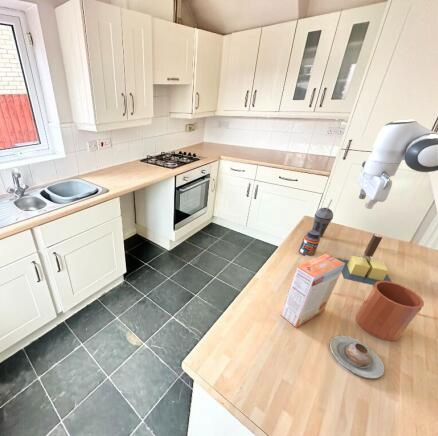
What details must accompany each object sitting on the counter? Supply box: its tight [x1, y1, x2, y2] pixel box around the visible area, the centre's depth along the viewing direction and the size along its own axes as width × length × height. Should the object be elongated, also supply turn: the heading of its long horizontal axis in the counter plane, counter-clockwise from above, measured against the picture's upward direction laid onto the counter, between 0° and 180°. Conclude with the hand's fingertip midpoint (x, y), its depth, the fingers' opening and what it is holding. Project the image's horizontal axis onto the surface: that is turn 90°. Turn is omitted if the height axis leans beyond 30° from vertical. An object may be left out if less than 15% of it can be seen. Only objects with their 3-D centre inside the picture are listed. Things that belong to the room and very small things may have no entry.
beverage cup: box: [311, 199, 334, 238], centre depth 116 cm, size 7×7×20 cm
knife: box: [362, 233, 383, 263], centre depth 95 cm, size 2×5×15 cm, turn 156°
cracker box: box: [280, 253, 345, 328], centre depth 76 cm, size 14×6×21 cm, turn 115°
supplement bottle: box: [298, 229, 321, 257], centre depth 106 cm, size 6×6×11 cm
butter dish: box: [336, 257, 393, 286], centre depth 96 cm, size 16×14×1 cm
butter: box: [347, 255, 389, 281], centre depth 95 cm, size 10×6×5 cm, turn 66°
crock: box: [355, 281, 425, 342], centre depth 73 cm, size 10×10×14 cm
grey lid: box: [329, 335, 385, 379], centre depth 66 cm, size 12×12×5 cm
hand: (364, 203), depth 94 cm, fingers open, 8 cm apart
